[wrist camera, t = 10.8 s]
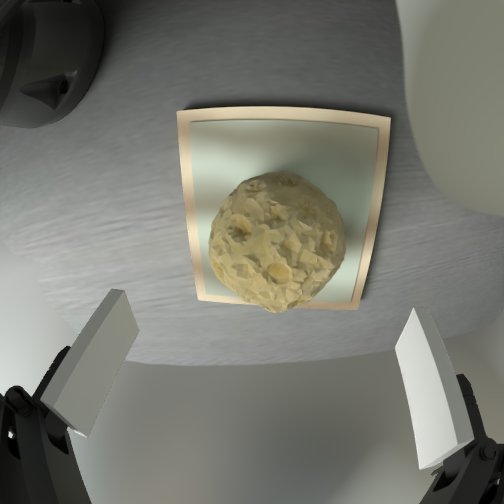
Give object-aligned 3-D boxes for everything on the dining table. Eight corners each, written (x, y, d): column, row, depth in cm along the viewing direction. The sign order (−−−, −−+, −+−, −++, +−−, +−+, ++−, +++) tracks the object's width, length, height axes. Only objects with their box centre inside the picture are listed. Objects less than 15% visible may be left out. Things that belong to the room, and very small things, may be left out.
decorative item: (326, 232, 26) (402, 229, 17) (263, 316, 25) (319, 357, 15) (253, 162, 24) (304, 118, 14) (178, 249, 22) (184, 254, 13)
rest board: (182, 110, 20) (175, 111, 19) (385, 116, 18) (391, 117, 17) (201, 292, 29) (197, 301, 28) (355, 301, 27) (357, 311, 26)
